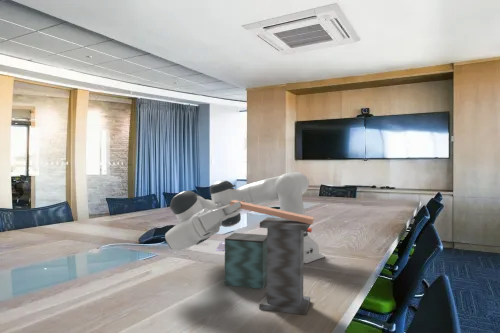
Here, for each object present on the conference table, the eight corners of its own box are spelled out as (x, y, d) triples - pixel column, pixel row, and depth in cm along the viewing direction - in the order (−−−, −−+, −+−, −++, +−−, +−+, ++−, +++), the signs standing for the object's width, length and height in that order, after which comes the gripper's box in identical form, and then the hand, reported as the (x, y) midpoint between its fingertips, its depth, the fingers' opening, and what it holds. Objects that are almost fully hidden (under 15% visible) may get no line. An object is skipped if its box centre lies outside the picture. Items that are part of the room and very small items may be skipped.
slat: (229, 206, 110) (230, 201, 110) (233, 204, 114) (234, 199, 114) (311, 224, 103) (312, 219, 103) (313, 222, 107) (314, 217, 107)
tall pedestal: (259, 308, 105) (259, 222, 104) (267, 296, 115) (267, 217, 114) (306, 314, 101) (306, 225, 100) (310, 301, 111) (310, 219, 110)
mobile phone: (215, 249, 171) (219, 242, 186) (215, 251, 171) (219, 244, 186) (230, 249, 171) (234, 242, 186) (230, 251, 171) (234, 244, 186)
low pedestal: (224, 284, 125) (224, 238, 125) (233, 275, 135) (233, 232, 134) (262, 288, 121) (262, 241, 121) (269, 279, 131) (269, 235, 130)
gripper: (223, 225, 124) (256, 207, 120) (199, 237, 104) (237, 216, 101) (215, 209, 125) (247, 191, 121) (189, 218, 105) (227, 197, 101)
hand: (242, 202), depth 111 cm, fingers closed on slat, 4 cm apart
